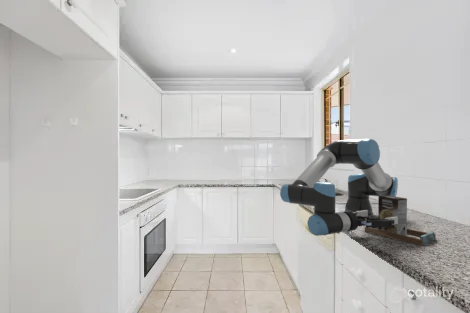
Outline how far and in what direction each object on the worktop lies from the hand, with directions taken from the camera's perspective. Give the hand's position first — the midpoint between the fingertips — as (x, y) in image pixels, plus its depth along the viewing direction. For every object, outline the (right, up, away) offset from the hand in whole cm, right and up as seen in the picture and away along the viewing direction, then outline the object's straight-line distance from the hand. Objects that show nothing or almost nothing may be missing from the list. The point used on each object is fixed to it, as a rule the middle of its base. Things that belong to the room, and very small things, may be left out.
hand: (381, 216), depth 109 cm
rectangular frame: (+8, -8, +1) cm, 11 cm away
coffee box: (+7, -8, +3) cm, 11 cm away
